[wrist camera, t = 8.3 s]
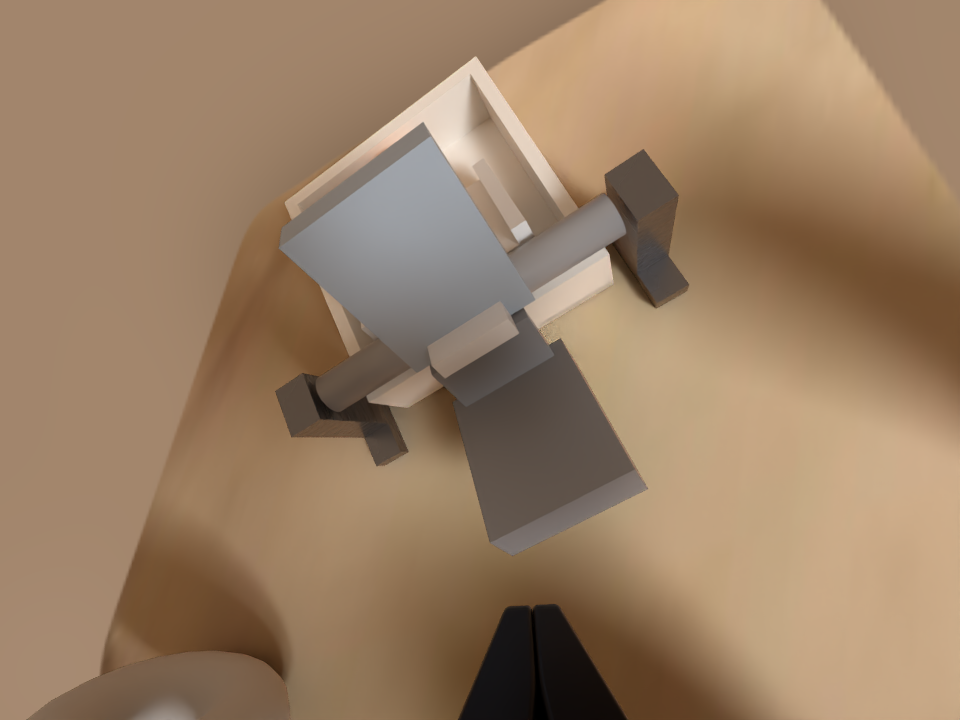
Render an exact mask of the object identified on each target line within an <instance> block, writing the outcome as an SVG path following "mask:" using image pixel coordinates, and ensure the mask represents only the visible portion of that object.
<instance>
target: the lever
mask: <svg viewBox="0 0 960 720" xmlns="http://www.w3.org/2000/svg"><path fill="white" fill-rule="evenodd" d="M472 167H473V169H474V170H475V172H476V174H477V175H478V177H479V180H478V181H476V182H475V183H473V184H472V185H471V186H469V187H468V188H465V186H464V185H463V183H462V182H461V180H460V179H459V177H458V175H457V174H456V172H455V171H454V169H453V168H452V166H451V164H450V163H449V161H448V160H447V158H446V157H445V155H444V153H443V152H442V150H441V149H440V147H439V146H438V144H437V143H436V141H435V139H434V138H433V136H432V135H431V133H430V132H429V130H428V128H427V127H426V125H425V124H424V122H422V123H421V124H419V125H418V126H417V127H415V128H414V129H413V130H411V131H410V132H409V133H407V134H406V135H405V136H403V137H402V138H401V139H399V140H398V141H397V142H395V143H394V144H393V145H391V146H390V147H389V148H387V149H386V150H385V151H383V152H382V153H381V154H379V155H378V156H377V157H375V158H374V159H373V160H371V161H370V162H369V163H367V164H366V165H365V166H363V167H362V168H361V169H359V170H358V171H357V172H355V173H354V174H353V175H351V176H350V177H349V178H347V179H346V180H345V181H343V182H342V183H341V184H339V185H338V186H337V187H335V188H334V189H333V190H331V191H330V192H329V193H327V194H326V195H325V196H323V197H322V198H321V199H319V200H318V201H317V202H315V203H314V204H313V205H311V206H310V207H309V208H307V209H306V210H305V211H303V212H302V213H301V214H299V215H298V216H297V217H295V218H294V219H293V220H291V221H290V222H289V223H287V224H286V225H285V226H283V227H282V229H281V236H280V243H279V249H280V250H281V251H282V252H283V253H285V254H286V255H287V256H288V257H289V258H290V259H291V260H292V261H293V262H294V263H296V264H297V265H298V266H299V267H300V268H301V269H302V270H303V271H304V272H306V273H307V274H308V275H309V276H310V277H311V278H312V279H313V280H314V281H316V282H317V283H318V284H319V285H320V286H321V287H322V288H323V289H324V290H326V291H327V292H328V293H329V294H330V295H331V296H332V297H333V298H334V299H336V300H337V301H338V302H339V303H340V304H341V305H342V306H343V307H344V308H346V309H347V310H348V311H349V312H350V313H351V314H352V315H353V316H354V317H356V318H357V319H358V320H359V321H360V322H361V329H362V330H363V331H364V332H365V333H366V334H368V335H369V336H370V337H371V338H372V339H373V340H374V341H373V342H372V343H370V344H369V345H367V346H366V347H364V348H363V349H361V350H360V351H358V352H357V353H355V354H353V355H352V356H350V357H349V358H347V359H346V360H344V361H343V362H341V363H340V364H338V365H336V366H335V367H333V368H332V369H330V370H329V371H327V372H326V373H324V374H323V375H321V376H320V377H318V378H317V379H316V390H317V392H318V395H319V397H320V398H321V400H322V401H323V402H324V404H325V405H326V406H327V407H329V408H330V409H331V410H333V411H336V412H341V411H342V410H344V409H346V408H347V407H349V406H351V405H352V404H354V403H355V402H357V401H359V400H360V399H362V398H363V397H365V396H367V395H368V394H370V393H371V392H373V391H375V390H376V389H378V388H379V387H381V386H383V385H384V384H386V383H387V382H389V381H391V380H392V379H394V378H396V377H397V376H399V375H400V374H402V373H404V372H405V371H407V370H408V369H410V368H412V369H413V370H414V371H415V372H417V373H418V372H420V371H421V370H423V369H425V368H426V367H428V366H430V370H431V374H432V376H433V377H434V378H435V379H436V380H437V381H438V382H440V383H441V384H442V385H443V386H444V387H445V388H446V389H447V390H448V391H449V392H450V393H451V394H452V395H454V396H455V397H456V398H457V400H455V401H454V402H453V406H454V409H455V413H456V417H457V421H458V425H459V428H460V432H461V436H462V440H463V443H464V447H465V451H466V455H467V458H468V462H469V466H470V470H471V473H472V477H473V481H474V485H475V489H476V492H477V496H478V500H479V504H480V507H481V511H482V515H483V519H484V522H485V526H486V530H487V534H488V537H489V541H490V543H491V544H493V545H494V546H496V547H498V548H500V549H501V550H503V551H505V552H507V553H508V554H510V555H512V556H514V555H516V554H518V553H520V552H522V551H524V550H526V549H528V548H530V547H532V546H534V545H536V544H538V543H540V542H542V541H544V540H546V539H548V538H550V537H552V536H554V535H556V534H558V533H560V532H562V531H564V530H566V529H568V528H570V527H572V526H574V525H576V524H578V523H580V522H582V521H584V520H586V519H588V518H590V517H592V516H594V515H596V514H598V513H601V512H603V511H605V510H607V509H609V508H611V507H613V506H615V505H617V504H619V503H621V502H623V501H625V500H627V499H629V498H631V497H633V496H635V495H637V494H639V493H641V492H643V491H645V490H647V489H648V487H647V486H646V484H645V482H644V481H643V479H642V477H641V475H640V474H639V472H638V470H637V468H636V467H635V465H634V463H633V461H632V460H631V458H630V456H629V454H628V453H627V451H626V449H625V447H624V446H623V444H622V442H621V440H620V439H619V437H618V435H617V433H616V432H615V430H614V428H613V426H612V425H611V423H610V421H609V419H608V418H607V416H606V414H605V412H604V411H603V409H602V407H601V405H600V404H599V402H598V400H597V398H596V397H595V395H594V393H593V391H592V390H591V388H590V386H589V384H588V383H587V381H586V379H585V377H584V376H583V374H582V372H581V370H580V369H579V367H578V365H577V363H576V362H575V360H574V359H573V357H572V355H571V354H570V352H569V351H568V349H567V348H566V346H565V344H564V343H563V341H562V340H561V338H560V339H559V340H557V341H555V342H554V343H552V344H550V345H549V344H548V343H547V341H546V340H545V338H544V337H543V335H542V334H541V332H540V331H539V329H538V328H537V326H536V325H535V324H534V322H533V321H532V319H531V318H530V316H529V315H528V313H527V312H526V310H525V309H524V307H525V306H527V305H528V304H530V303H532V302H533V301H535V298H534V296H533V294H532V292H534V291H535V290H537V289H539V288H540V287H542V286H543V285H545V284H547V283H548V282H550V281H551V280H553V279H555V278H556V277H558V276H559V275H561V274H563V273H564V272H566V271H567V270H569V269H571V268H572V267H574V266H575V265H577V264H579V263H580V262H582V261H584V260H585V259H587V258H588V257H590V256H592V255H593V254H595V253H596V252H598V251H600V250H601V249H603V248H604V247H606V246H608V245H609V244H611V243H612V242H614V241H616V240H617V239H619V238H620V237H622V236H624V235H625V234H626V228H625V225H624V223H623V220H622V218H621V216H620V214H619V212H618V211H617V209H616V207H615V206H614V204H613V203H612V201H611V200H610V199H609V198H608V197H607V196H606V195H605V194H604V193H601V194H600V195H598V196H597V197H595V198H594V199H592V200H591V201H589V202H587V203H586V204H584V205H583V206H581V207H580V208H578V209H577V210H575V211H574V212H572V213H571V214H569V215H567V216H566V217H564V218H563V219H561V220H560V221H558V222H557V223H555V224H554V225H552V226H551V227H549V228H547V229H546V230H544V231H543V232H541V233H540V234H538V235H537V236H534V234H533V233H532V231H531V229H530V227H529V225H528V224H527V222H526V220H525V219H524V217H523V216H522V214H521V213H520V211H519V210H518V208H517V207H516V205H515V204H514V202H513V201H512V199H511V198H510V197H509V195H508V194H507V192H506V191H505V189H504V188H503V186H502V185H501V183H500V182H499V180H498V179H497V177H496V176H495V174H494V173H493V171H492V170H491V168H490V167H489V166H488V164H487V163H486V161H485V160H484V158H483V159H481V160H480V161H479V162H477V163H476V164H474V165H473V166H472Z"/></svg>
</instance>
